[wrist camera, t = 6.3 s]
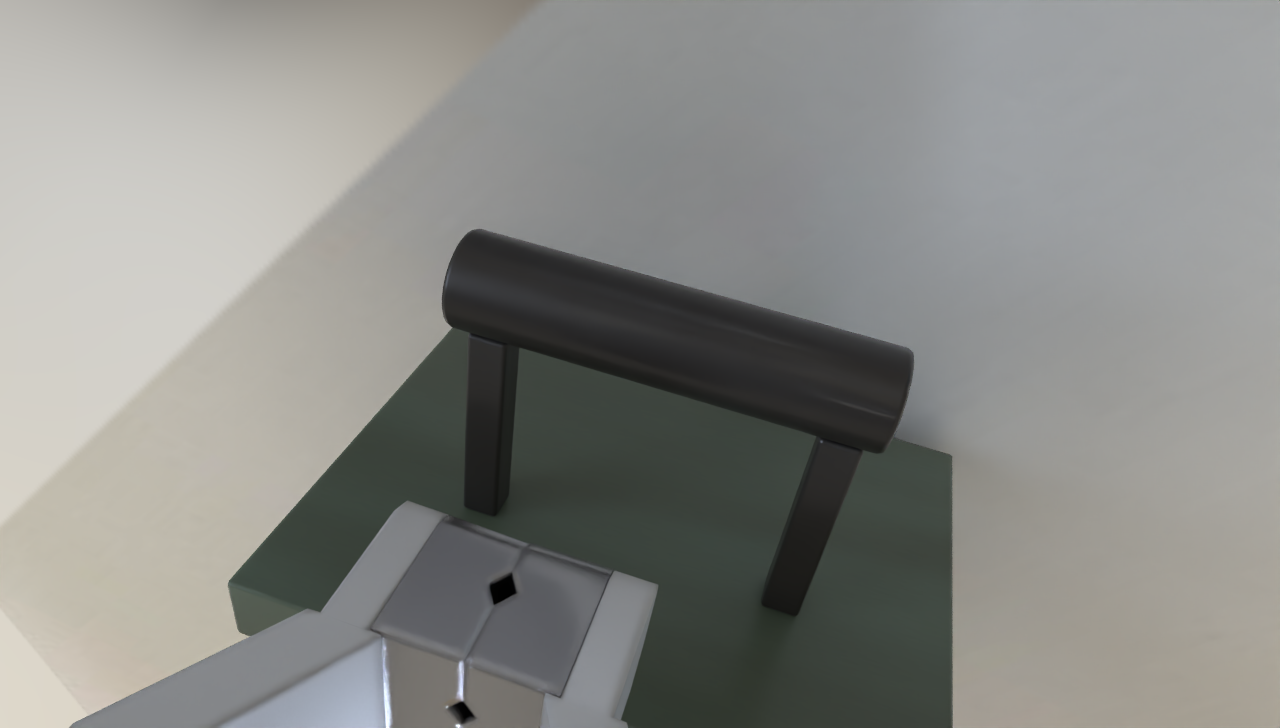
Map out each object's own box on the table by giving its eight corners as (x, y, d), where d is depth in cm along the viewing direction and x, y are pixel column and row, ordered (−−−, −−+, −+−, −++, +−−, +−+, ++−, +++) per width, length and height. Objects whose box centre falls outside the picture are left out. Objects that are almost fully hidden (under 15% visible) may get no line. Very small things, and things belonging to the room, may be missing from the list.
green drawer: (471, 85, 16) (159, 296, 9) (1060, 234, 14) (1145, 600, 8) (457, 674, 27) (308, 948, 20) (786, 793, 25) (733, 1128, 19)
